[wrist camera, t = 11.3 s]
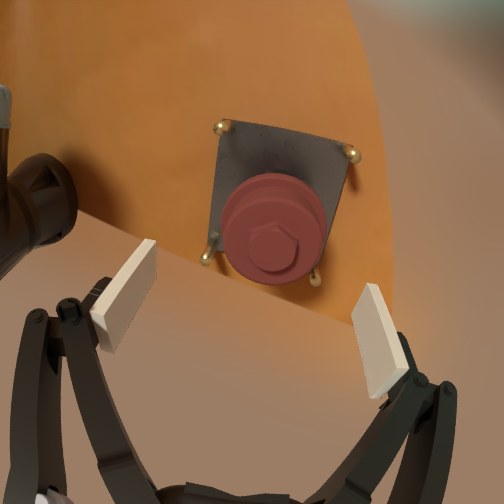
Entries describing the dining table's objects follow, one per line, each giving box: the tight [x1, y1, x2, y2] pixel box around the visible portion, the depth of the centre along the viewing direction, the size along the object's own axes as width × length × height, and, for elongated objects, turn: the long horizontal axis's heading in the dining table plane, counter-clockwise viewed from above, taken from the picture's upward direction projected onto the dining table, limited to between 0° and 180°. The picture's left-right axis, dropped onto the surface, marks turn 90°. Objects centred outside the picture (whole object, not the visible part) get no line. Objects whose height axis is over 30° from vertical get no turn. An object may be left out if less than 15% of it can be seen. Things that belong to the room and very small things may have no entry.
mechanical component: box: [221, 173, 327, 285], centre depth 27 cm, size 12×10×10 cm
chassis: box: [200, 119, 361, 287], centre depth 31 cm, size 15×17×4 cm
